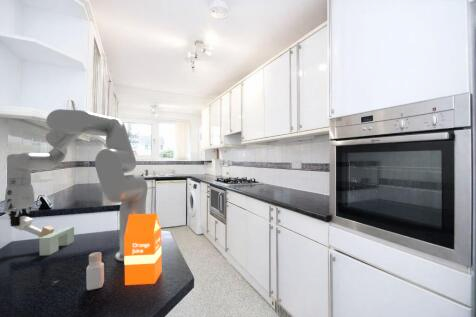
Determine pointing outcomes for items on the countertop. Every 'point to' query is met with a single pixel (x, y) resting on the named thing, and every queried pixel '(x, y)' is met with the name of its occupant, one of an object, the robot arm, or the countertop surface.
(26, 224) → the plug
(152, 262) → the orange juice
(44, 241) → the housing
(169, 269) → the countertop surface
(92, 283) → the salt shaker
